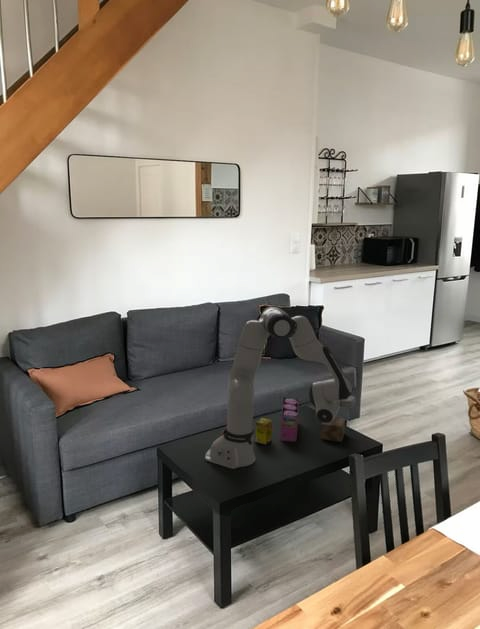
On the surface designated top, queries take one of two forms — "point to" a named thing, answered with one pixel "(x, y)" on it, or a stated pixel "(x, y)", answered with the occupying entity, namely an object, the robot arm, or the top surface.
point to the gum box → (289, 420)
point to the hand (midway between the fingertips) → (335, 393)
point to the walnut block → (333, 430)
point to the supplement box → (263, 431)
